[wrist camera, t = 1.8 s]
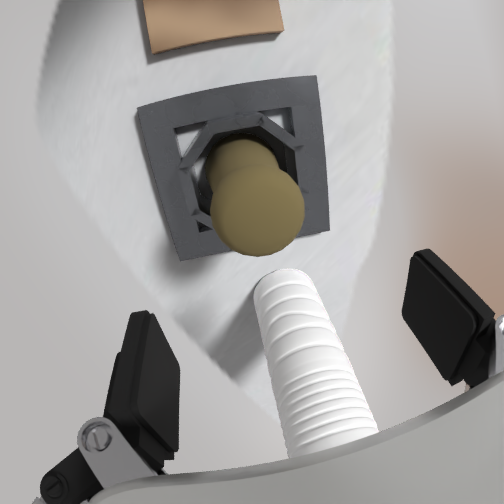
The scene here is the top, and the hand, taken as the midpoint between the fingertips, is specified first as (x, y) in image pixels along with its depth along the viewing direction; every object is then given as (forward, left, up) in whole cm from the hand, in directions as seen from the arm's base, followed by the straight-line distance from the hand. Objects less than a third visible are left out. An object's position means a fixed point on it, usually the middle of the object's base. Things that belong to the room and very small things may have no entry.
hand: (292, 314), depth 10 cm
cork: (-1, 0, -17) cm, 17 cm away
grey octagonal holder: (-1, 0, -17) cm, 17 cm away
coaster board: (-17, 0, -17) cm, 24 cm away
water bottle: (+14, +2, -17) cm, 23 cm away
